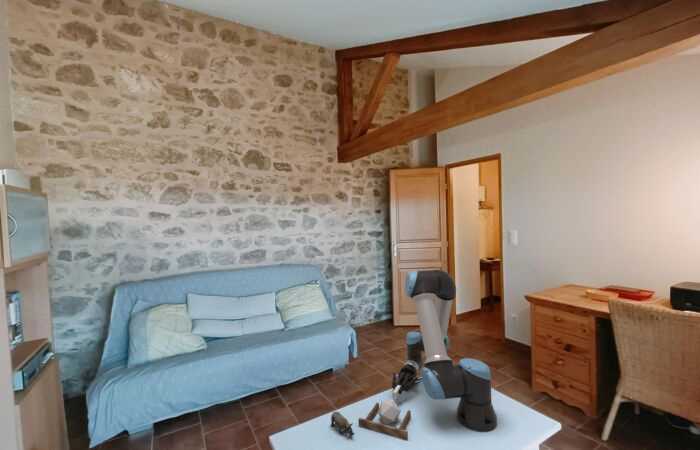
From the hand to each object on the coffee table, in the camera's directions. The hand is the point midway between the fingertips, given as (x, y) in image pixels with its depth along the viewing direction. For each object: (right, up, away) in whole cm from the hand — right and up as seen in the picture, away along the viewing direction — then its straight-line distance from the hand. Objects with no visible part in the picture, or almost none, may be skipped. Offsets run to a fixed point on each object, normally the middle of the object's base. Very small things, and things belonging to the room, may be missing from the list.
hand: (394, 395), depth 137 cm
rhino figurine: (-22, -7, -13) cm, 27 cm away
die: (-3, -7, -7) cm, 10 cm away
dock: (-4, -6, -9) cm, 12 cm away
